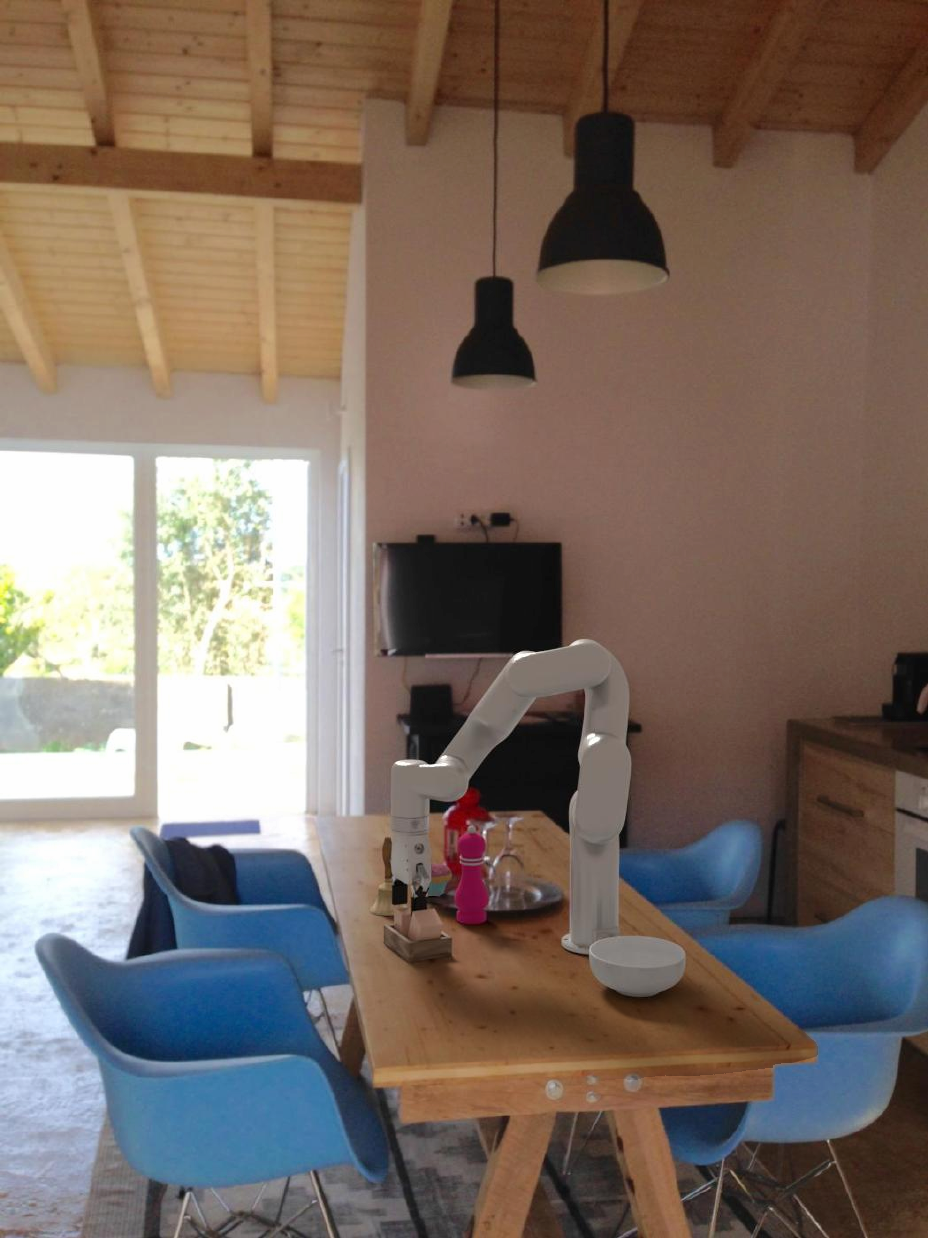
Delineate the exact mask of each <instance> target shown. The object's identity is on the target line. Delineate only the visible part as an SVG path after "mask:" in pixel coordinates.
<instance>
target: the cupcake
mask: <svg viewBox="0 0 928 1238" xmlns="http://www.w3.org/2000/svg"><path fill="white" fill-rule="evenodd" d="M452 877H453V874H452V870H451V869H450V867H448V866H447V865H446V864H443V863H440V862H431V882H430V883H429V890H428V894H432V895H442V894H443V895H444V893H445V889H446V887H447V883H448V882H450V881H451V880H452ZM416 881H420V880H416ZM443 895H442V896H443Z"/></svg>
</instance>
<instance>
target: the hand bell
mask: <svg viewBox="0 0 928 1238" xmlns="http://www.w3.org/2000/svg"><path fill="white" fill-rule="evenodd" d="M391 851H392V838H391V836H385V837H384V840H383V844H382V847H381V855H382V861H383V865H384V882H383V883H382V884H380V885H379V886H378V890H377V897H376V899H375V902H374V904H373V905H372V906H371V907H370V908H369V909H370V910H369V912H370V914H372V915H375V916H380V917H381V916H382V917H394V909H398V908H407V907H408V906H407V905H406V904H401V905H393V904H392V885H394V884H392V882H391V879H392V874H391V862H390V860H391Z"/></svg>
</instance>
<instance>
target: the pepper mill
mask: <svg viewBox="0 0 928 1238" xmlns="http://www.w3.org/2000/svg"><path fill="white" fill-rule="evenodd" d="M476 832H477V829H476V826H474V825H469V826H468V827H467V832H466V833H463V834H462V835H461V836H460V837H459V838H458V841H457V850H458V852H459V853H460V856H459V859H460V860H459V863H460V864H461V878H460V881H459V884H458V886H457V888H456V890H455V894H454V904H455V906H456V907H457V908H458V910H457V911H456V921H457V922H459V923H460V924H464V925H479V924H483V923H485V922H486V921H487V911H486V910H485V908H486V907H487V906H488V904H489V902H490V898H489V892H488V889H487V887H486V886H485V882H484V880H483V876H482V865H483V863H485V862H484V855H483V854H484V852H485V851H486V849H487V843H486V839H485V838H484V836H483V835H481V834H480V833H476Z"/></svg>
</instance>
